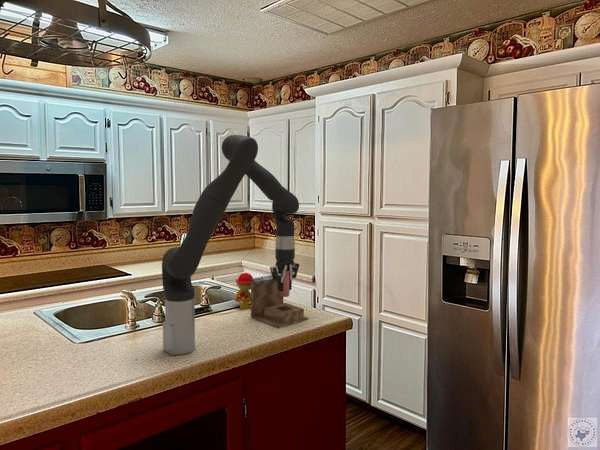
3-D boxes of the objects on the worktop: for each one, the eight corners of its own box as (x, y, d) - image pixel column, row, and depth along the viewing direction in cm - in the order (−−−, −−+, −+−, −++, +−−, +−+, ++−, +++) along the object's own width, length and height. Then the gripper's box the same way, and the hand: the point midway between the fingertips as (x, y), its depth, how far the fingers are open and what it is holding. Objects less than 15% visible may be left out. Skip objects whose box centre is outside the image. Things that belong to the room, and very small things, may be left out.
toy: (254, 311, 186) (254, 276, 184) (232, 310, 186) (232, 275, 184) (257, 303, 197) (257, 270, 195) (236, 303, 197) (237, 269, 196)
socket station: (277, 328, 166) (278, 287, 164) (250, 317, 178) (251, 278, 176) (308, 319, 177) (309, 280, 175) (280, 309, 189) (281, 273, 187)
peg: (284, 297, 171) (284, 272, 170) (278, 295, 174) (278, 270, 173) (291, 295, 174) (291, 270, 173) (285, 294, 176) (285, 269, 175)
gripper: (277, 250, 164) (277, 295, 166) (304, 246, 174) (304, 289, 176) (264, 247, 170) (264, 291, 172) (292, 244, 179) (291, 285, 181)
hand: (284, 290), depth 174 cm, fingers closed on peg, 3 cm apart
